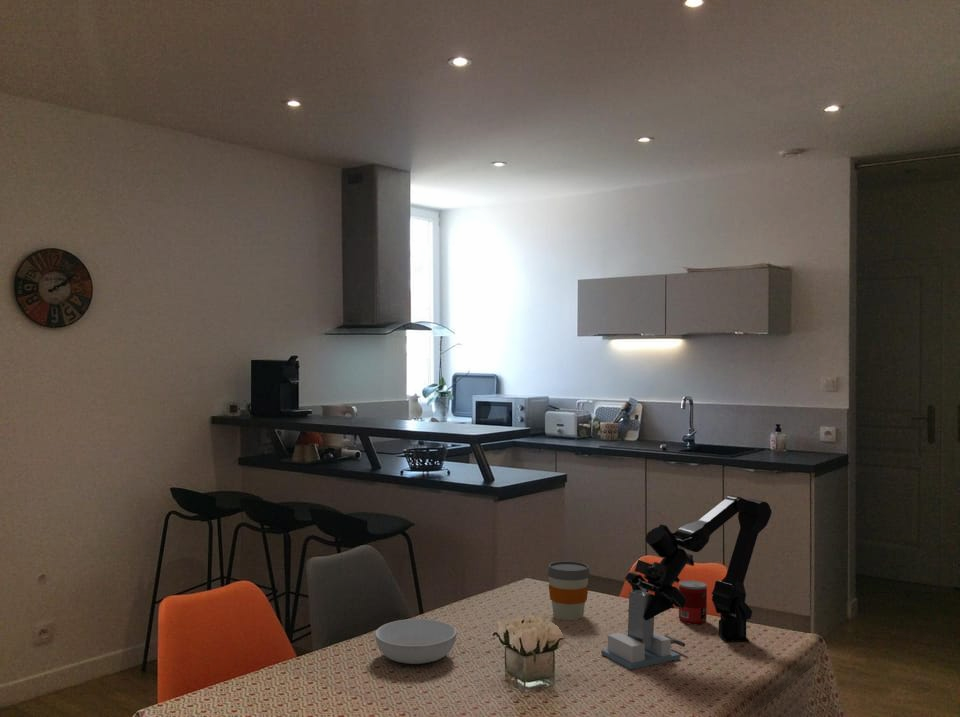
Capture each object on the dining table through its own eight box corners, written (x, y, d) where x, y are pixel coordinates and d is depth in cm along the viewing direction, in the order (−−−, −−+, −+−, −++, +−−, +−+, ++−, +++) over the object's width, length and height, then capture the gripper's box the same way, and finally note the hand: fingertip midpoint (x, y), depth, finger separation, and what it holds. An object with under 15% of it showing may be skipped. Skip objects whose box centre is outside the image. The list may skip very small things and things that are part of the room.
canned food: (707, 625, 240) (707, 587, 240) (679, 623, 241) (679, 586, 241) (705, 618, 247) (705, 581, 247) (678, 616, 249) (678, 579, 249)
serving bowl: (358, 658, 211) (358, 631, 211) (418, 639, 226) (418, 613, 226) (413, 679, 197) (413, 650, 197) (473, 657, 212) (473, 630, 212)
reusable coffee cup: (548, 608, 255) (548, 560, 255) (589, 610, 254) (589, 561, 254) (546, 621, 243) (546, 570, 243) (589, 623, 241) (589, 571, 241)
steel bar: (638, 639, 217) (639, 589, 217) (653, 646, 212) (654, 595, 212) (627, 640, 215) (629, 590, 216) (642, 647, 210) (644, 596, 210)
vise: (661, 642, 224) (661, 623, 224) (691, 656, 214) (691, 636, 214) (601, 654, 215) (601, 634, 215) (630, 669, 204) (630, 648, 204)
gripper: (630, 542, 224) (597, 588, 218) (677, 556, 207) (643, 606, 202) (653, 567, 227) (621, 613, 222) (701, 583, 211) (668, 633, 206)
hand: (637, 615), depth 213 cm, fingers closed on steel bar, 6 cm apart
